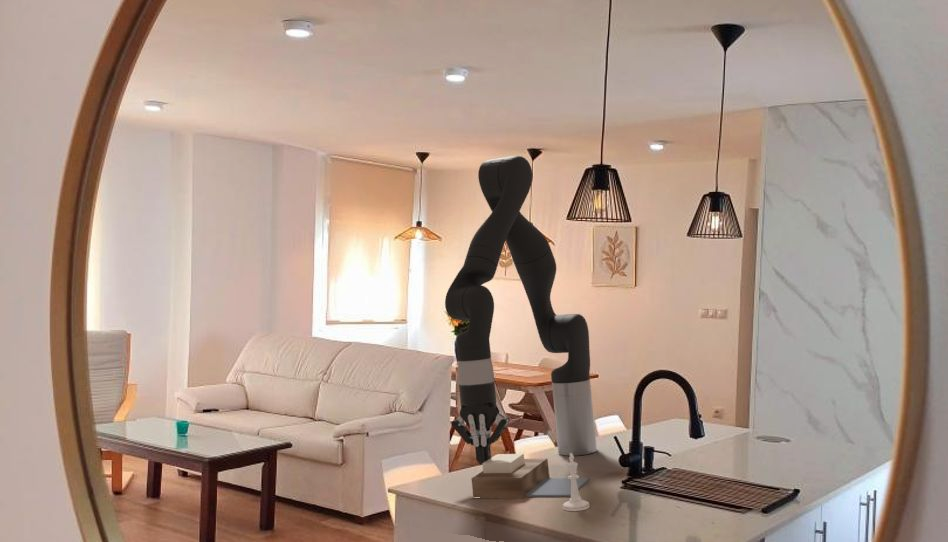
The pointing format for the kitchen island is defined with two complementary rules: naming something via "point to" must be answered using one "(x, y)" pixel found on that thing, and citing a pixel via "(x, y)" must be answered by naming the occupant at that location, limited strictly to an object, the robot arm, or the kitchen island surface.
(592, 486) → the kitchen island surface
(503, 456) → the white rectangular block
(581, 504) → the chess piece
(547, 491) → the mat
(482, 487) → the block
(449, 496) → the kitchen island surface
